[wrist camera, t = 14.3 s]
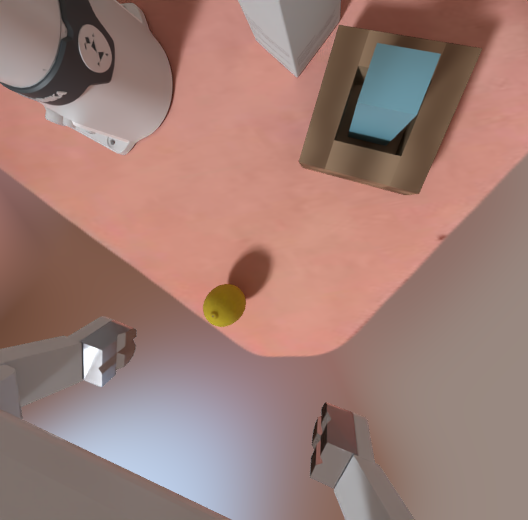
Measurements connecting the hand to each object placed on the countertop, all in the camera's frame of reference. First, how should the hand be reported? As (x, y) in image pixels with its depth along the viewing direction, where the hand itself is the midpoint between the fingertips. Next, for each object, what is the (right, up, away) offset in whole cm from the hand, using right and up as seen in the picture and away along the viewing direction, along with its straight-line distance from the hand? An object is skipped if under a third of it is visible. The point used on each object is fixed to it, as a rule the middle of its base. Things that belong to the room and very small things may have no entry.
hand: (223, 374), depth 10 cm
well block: (+15, +21, +20) cm, 32 cm away
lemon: (-3, -1, +30) cm, 30 cm away
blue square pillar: (+14, +20, +19) cm, 31 cm away
